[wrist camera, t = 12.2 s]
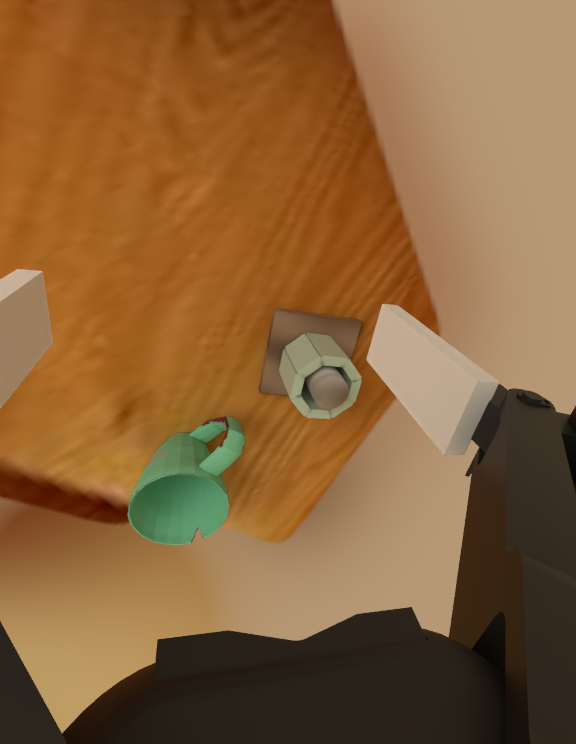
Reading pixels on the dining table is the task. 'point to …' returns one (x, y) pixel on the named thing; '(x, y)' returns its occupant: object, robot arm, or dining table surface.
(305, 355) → the pale green hollow tube
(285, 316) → the shaft block
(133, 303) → the dining table surface
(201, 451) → the mug
